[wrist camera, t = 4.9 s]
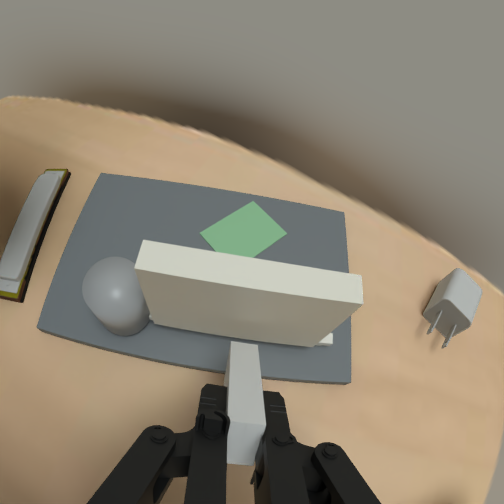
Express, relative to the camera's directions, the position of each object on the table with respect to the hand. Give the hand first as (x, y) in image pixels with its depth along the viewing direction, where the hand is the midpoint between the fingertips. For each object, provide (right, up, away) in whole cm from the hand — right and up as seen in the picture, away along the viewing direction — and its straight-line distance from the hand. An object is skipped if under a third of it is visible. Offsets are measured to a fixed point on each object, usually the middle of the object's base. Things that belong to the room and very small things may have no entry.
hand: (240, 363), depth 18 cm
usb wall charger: (+18, 0, +9) cm, 21 cm away
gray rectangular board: (-3, +5, +8) cm, 10 cm away
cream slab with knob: (-2, +1, +4) cm, 5 cm away
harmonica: (-20, +8, +8) cm, 23 cm away
